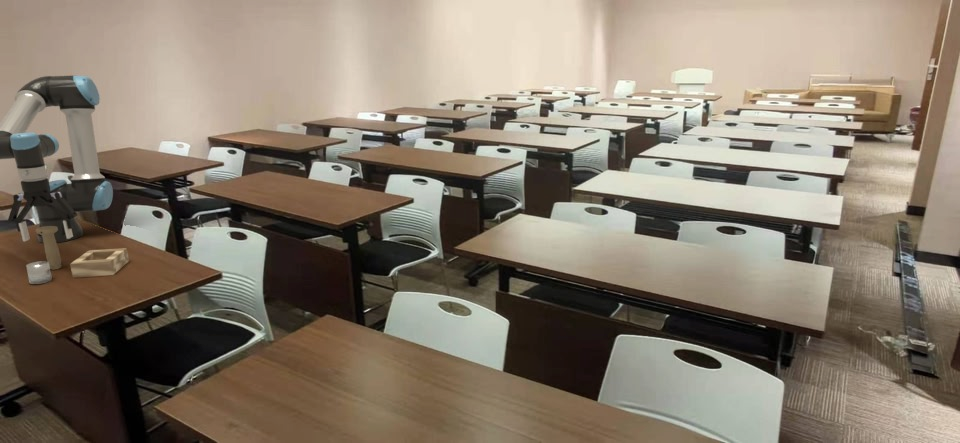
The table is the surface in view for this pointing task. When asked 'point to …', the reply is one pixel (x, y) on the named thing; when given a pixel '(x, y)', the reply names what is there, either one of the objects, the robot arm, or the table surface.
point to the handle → (50, 246)
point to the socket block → (99, 262)
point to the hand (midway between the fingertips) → (48, 239)
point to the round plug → (39, 272)
